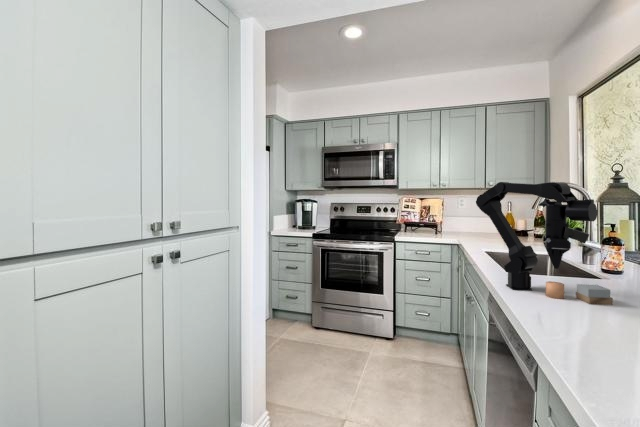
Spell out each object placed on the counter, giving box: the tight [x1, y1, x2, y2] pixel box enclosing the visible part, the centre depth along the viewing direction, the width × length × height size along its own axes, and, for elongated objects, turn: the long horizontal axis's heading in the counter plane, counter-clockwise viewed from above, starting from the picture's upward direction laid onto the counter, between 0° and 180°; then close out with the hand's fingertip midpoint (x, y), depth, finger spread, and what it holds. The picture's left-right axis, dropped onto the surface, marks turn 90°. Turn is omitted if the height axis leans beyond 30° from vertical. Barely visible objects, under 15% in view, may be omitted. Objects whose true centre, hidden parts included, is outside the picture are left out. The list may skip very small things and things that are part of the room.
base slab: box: [575, 291, 614, 306], centre depth 103 cm, size 6×6×2 cm
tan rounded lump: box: [545, 281, 565, 300], centre depth 108 cm, size 5×5×4 cm
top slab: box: [576, 283, 611, 298], centre depth 102 cm, size 6×6×2 cm
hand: (555, 265), depth 108 cm, fingers open, 9 cm apart
